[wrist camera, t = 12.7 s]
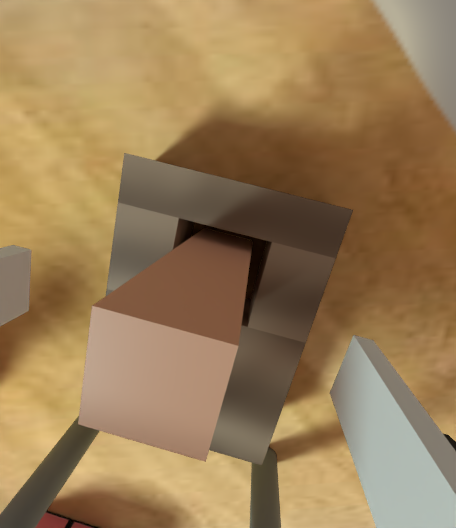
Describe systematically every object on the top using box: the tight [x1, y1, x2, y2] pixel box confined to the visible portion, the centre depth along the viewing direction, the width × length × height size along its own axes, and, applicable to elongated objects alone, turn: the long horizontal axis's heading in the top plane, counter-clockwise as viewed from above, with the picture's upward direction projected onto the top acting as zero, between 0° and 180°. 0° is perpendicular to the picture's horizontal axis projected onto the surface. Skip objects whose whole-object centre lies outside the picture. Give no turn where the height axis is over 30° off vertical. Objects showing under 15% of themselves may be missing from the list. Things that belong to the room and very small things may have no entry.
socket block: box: [106, 153, 353, 465], centre depth 22 cm, size 20×14×5 cm
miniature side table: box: [0, 416, 281, 528], centre depth 17 cm, size 13×20×22 cm, turn 76°
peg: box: [78, 228, 253, 462], centre depth 16 cm, size 4×4×16 cm
